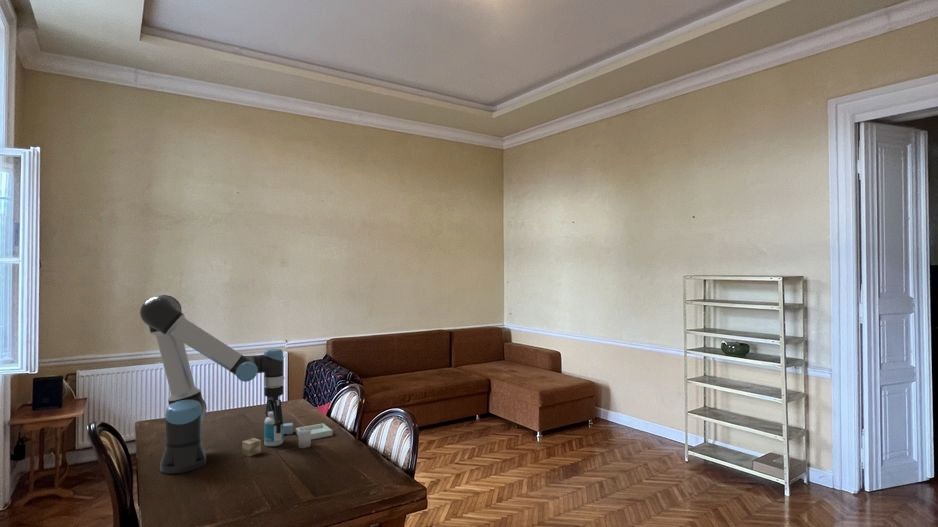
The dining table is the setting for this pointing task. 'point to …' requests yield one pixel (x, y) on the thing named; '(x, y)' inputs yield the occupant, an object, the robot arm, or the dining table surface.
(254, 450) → the oak cube
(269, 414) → the pill bottle
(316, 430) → the tray
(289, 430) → the blue block
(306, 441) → the grey cylinder
